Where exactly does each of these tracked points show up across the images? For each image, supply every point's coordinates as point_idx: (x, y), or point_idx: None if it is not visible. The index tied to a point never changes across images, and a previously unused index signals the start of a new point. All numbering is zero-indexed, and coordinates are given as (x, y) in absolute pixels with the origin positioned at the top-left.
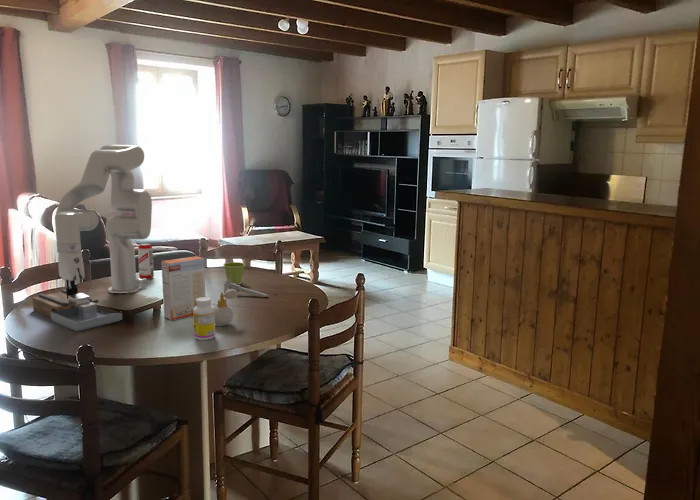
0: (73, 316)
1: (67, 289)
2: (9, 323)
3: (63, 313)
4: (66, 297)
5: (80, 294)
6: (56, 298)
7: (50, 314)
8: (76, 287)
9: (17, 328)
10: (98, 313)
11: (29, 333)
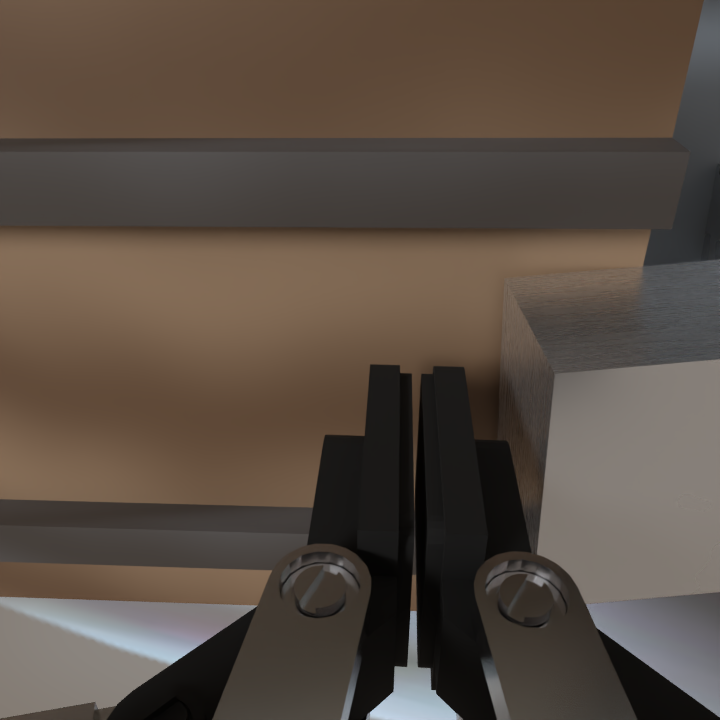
0: None
1: (400, 652)
2: None
3: None
4: (40, 330)
5: (639, 440)
6: (22, 448)
7: None
8: (544, 582)
9: (406, 694)
10: (705, 21)
11: None
